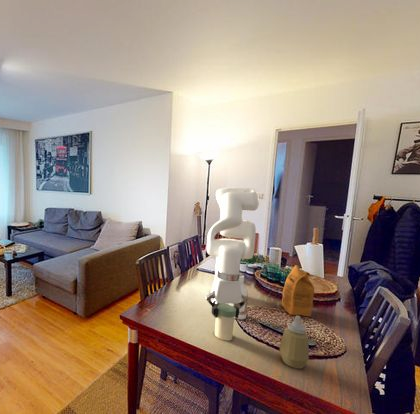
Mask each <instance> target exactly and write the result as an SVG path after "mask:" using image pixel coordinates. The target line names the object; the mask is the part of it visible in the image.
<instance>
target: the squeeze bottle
mask: <svg viewBox="0 0 420 414" xmlns="http://www.w3.org/2000/svg"><path fill="white" fill-rule="evenodd" d="M306 331H307V328H306V327H305V326H304V325H302V318H301V315H295V317H294V319H293V322H288V325H287V327H285V328H284V329H283V334H282V338H281V340H280V341H281V342H280V345H279V353H280V356H281V359H282V362H283V363H284V364H286V365H287V366H289V367H291V368H294V369H303V368H304V367H305V365H306V364H307V363H308V361H309V359H310V351H309V350H310V348H309V347H310V346H309V345H310V344H309V343H310V342H309V341H310V340H309V335H308V334H307V332H306Z"/></svg>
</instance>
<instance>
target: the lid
mask: <svg viewBox="0 0 420 414" xmlns="http://www.w3.org/2000/svg"><path fill="white" fill-rule="evenodd" d="M217 309H218V315H221V316H223V317H228V318H232V317H235V316H236V308H235V307H233V306H232V305H229V304H227V303H220V304H219V305H218V307H217Z"/></svg>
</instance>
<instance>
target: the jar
mask: <svg viewBox="0 0 420 414" xmlns="http://www.w3.org/2000/svg"><path fill="white" fill-rule="evenodd" d="M214 322H215V323H214V324H215V325H214V336H215V337H216V338H218V339H219V340H221V341H231V340H233V336H234V335H233V334H234V322H235V318H234V317H232V318H228V317H223V316H221V315H218V317H217V318H215V321H214Z"/></svg>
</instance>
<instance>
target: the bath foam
mask: <svg viewBox="0 0 420 414" xmlns="http://www.w3.org/2000/svg"><path fill="white" fill-rule="evenodd" d="M239 280H240V282H241V291H242V295H243V296H245V297H246V298H247V299H248V300H247V301H246V303H244V305H243V306H242V307H241V309H239V315H238V318H235V317H234V319H236V320H245V319H246V318H247V311H248V302H249V290H248V288H247V286H246V285H245V275H244V274H242V276H240V277H239ZM241 299H242V298H241ZM229 305H232V306H234V304H229Z"/></svg>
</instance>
